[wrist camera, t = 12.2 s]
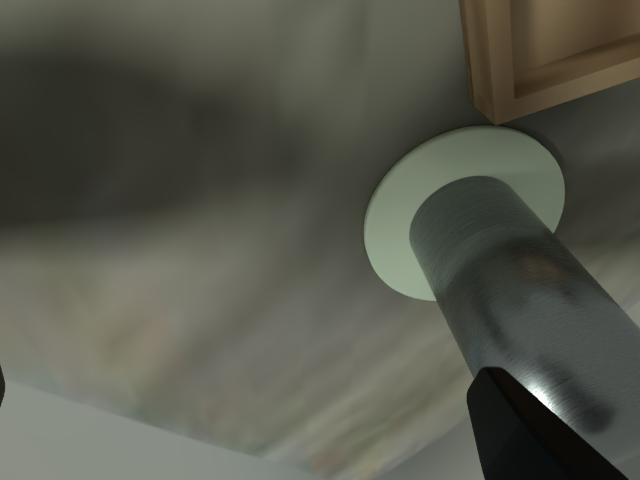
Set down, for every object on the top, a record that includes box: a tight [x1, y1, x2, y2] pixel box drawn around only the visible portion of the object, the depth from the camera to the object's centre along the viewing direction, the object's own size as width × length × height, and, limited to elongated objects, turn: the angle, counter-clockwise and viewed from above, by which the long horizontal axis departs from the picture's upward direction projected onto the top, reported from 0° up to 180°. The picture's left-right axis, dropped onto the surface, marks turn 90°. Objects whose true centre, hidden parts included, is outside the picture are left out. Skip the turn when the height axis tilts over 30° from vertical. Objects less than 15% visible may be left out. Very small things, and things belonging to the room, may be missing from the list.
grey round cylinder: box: [409, 176, 640, 480], centre depth 19 cm, size 6×6×12 cm
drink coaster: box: [363, 125, 565, 301], centre depth 24 cm, size 10×10×1 cm
